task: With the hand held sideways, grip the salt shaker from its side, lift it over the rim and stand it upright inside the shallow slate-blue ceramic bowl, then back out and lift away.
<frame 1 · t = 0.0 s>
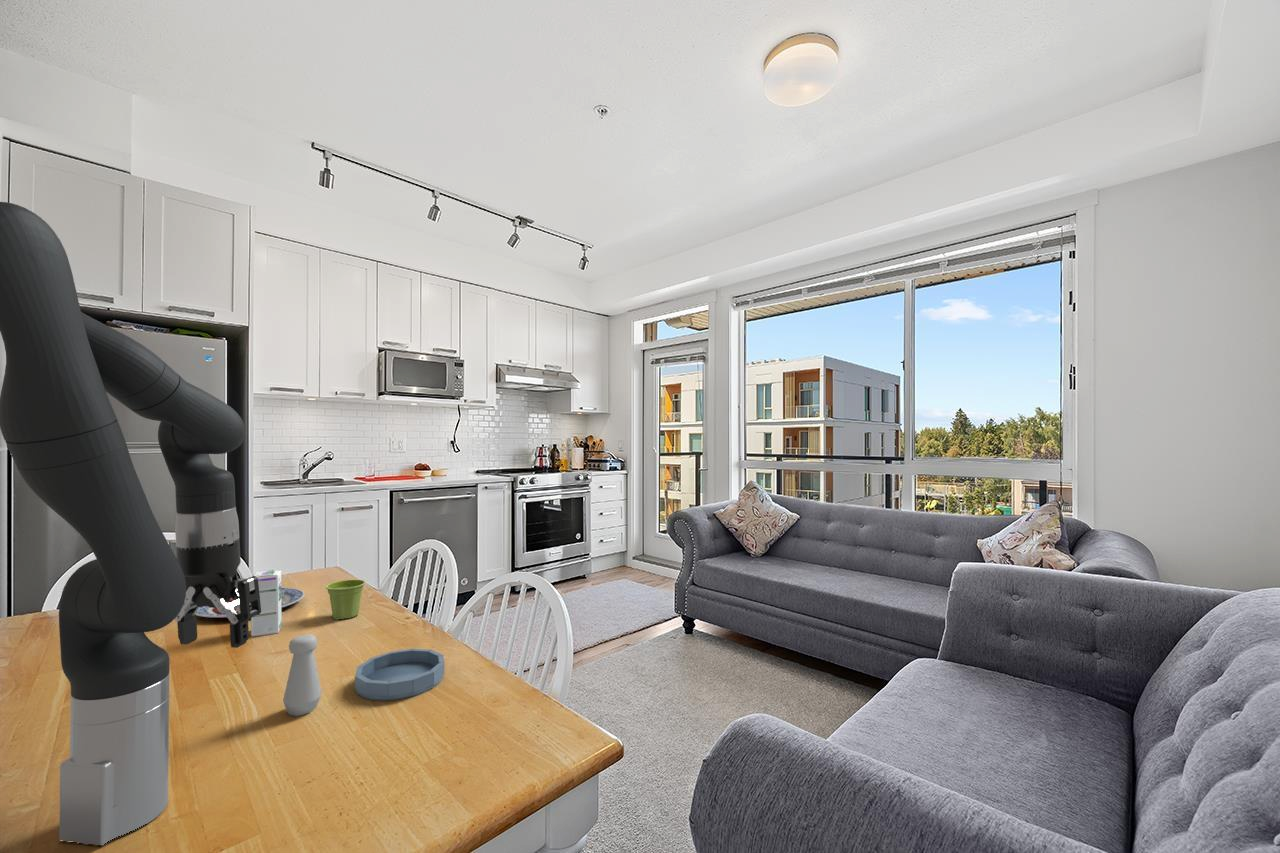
hand: (214, 644, 84), 17 cm above the table, tool pointing down, fingers open, 8 cm apart
salt shaker: (302, 711, 98), on the table
ceramic plate: (250, 609, 154), on the table
plant pot: (345, 617, 148), on the table
syrup box: (266, 632, 136), on the table
bowl: (401, 680, 109), on the table
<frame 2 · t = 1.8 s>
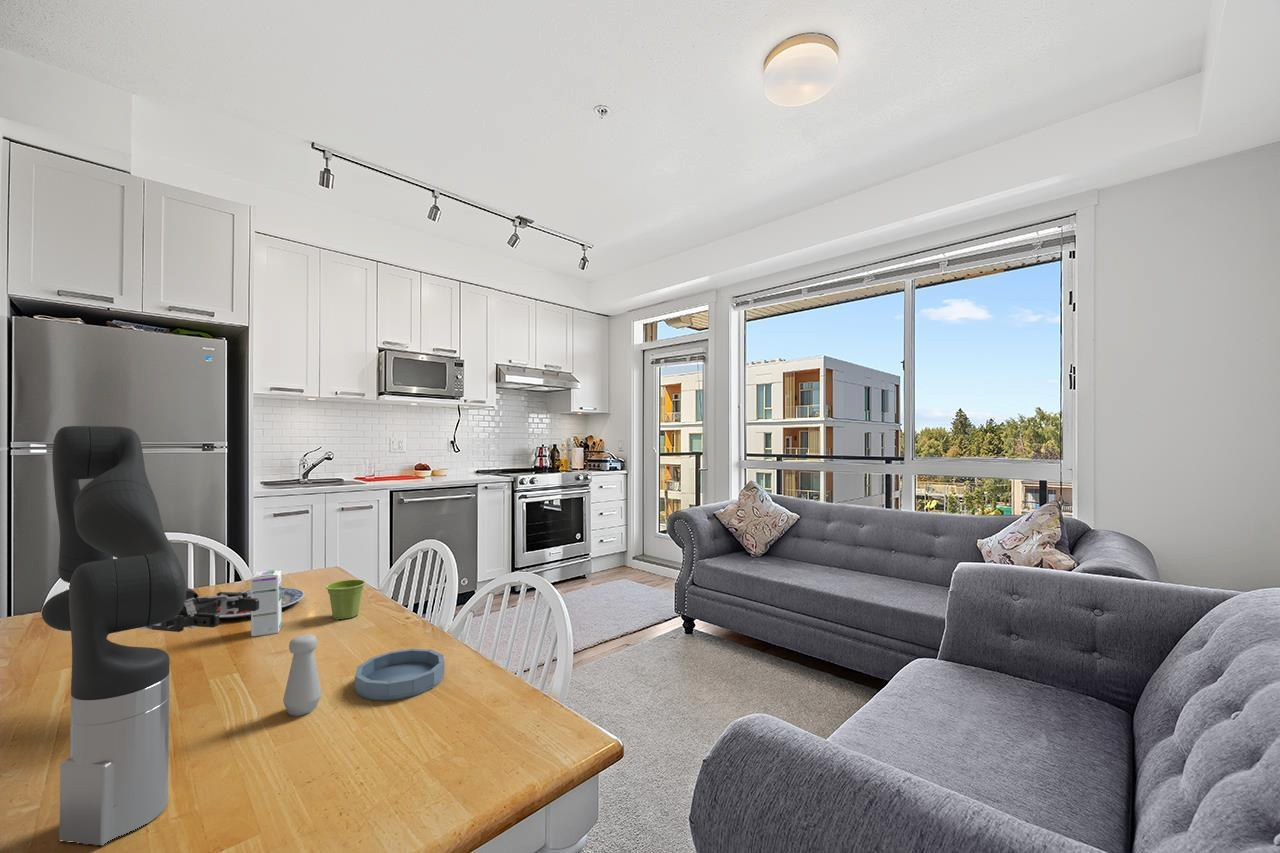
hand: (238, 612, 100), 17 cm above the table, tool horizontal, fingers open, 8 cm apart
nothing on the table moved.
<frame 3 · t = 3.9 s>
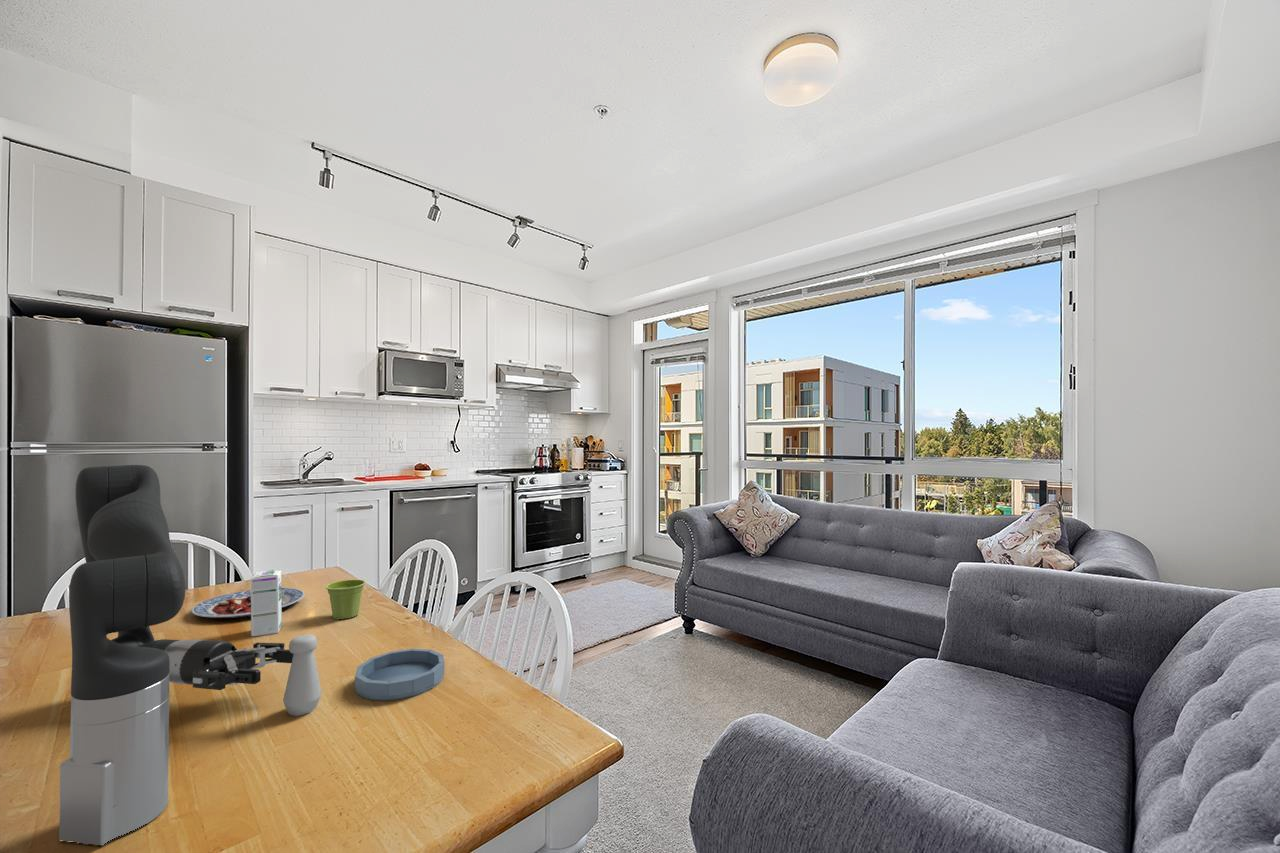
hand: (278, 666, 98), 8 cm above the table, tool horizontal, fingers open, 8 cm apart
nothing on the table moved.
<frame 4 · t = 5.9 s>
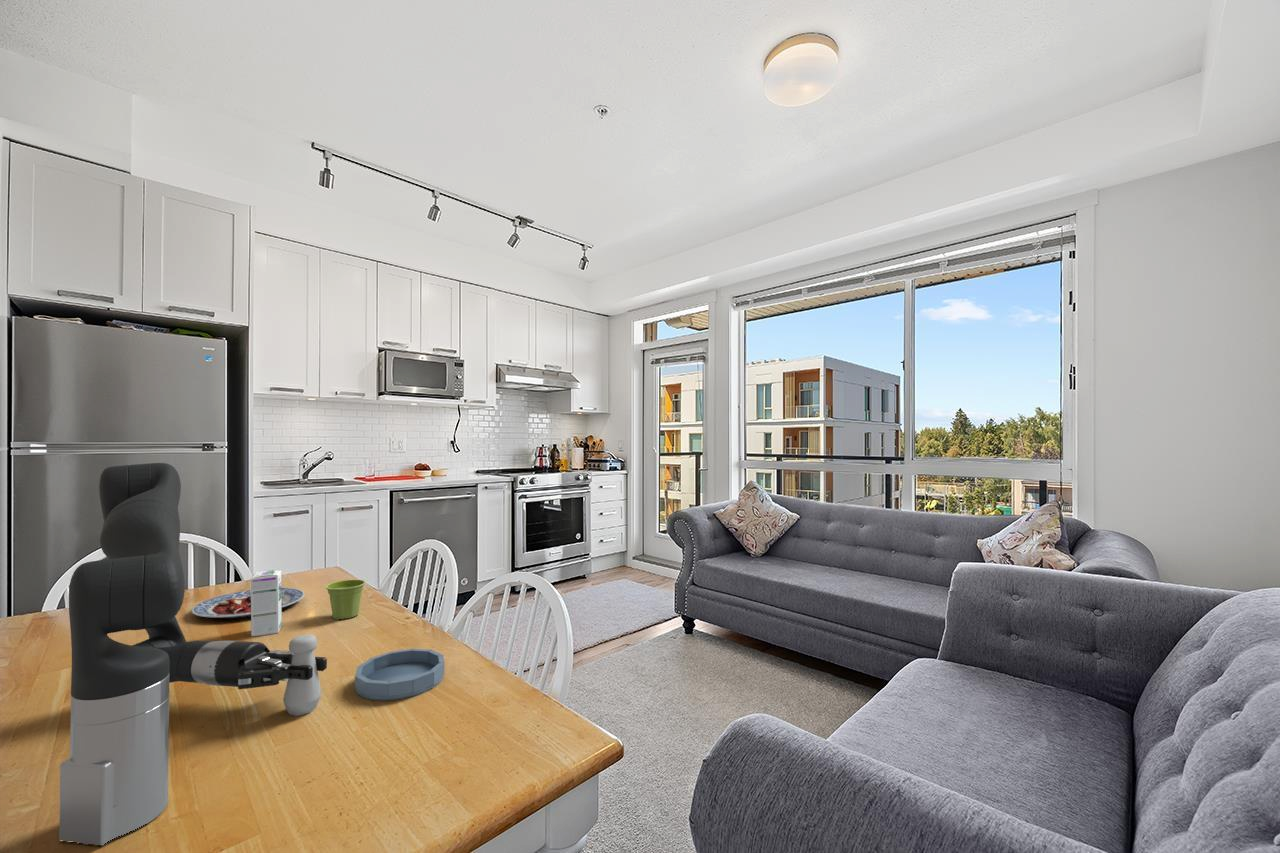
hand: (318, 668, 98), 8 cm above the table, tool horizontal, fingers closed on salt shaker, 3 cm apart
salt shaker: (302, 711, 98), on the table, touching gripper
everything else where it was.
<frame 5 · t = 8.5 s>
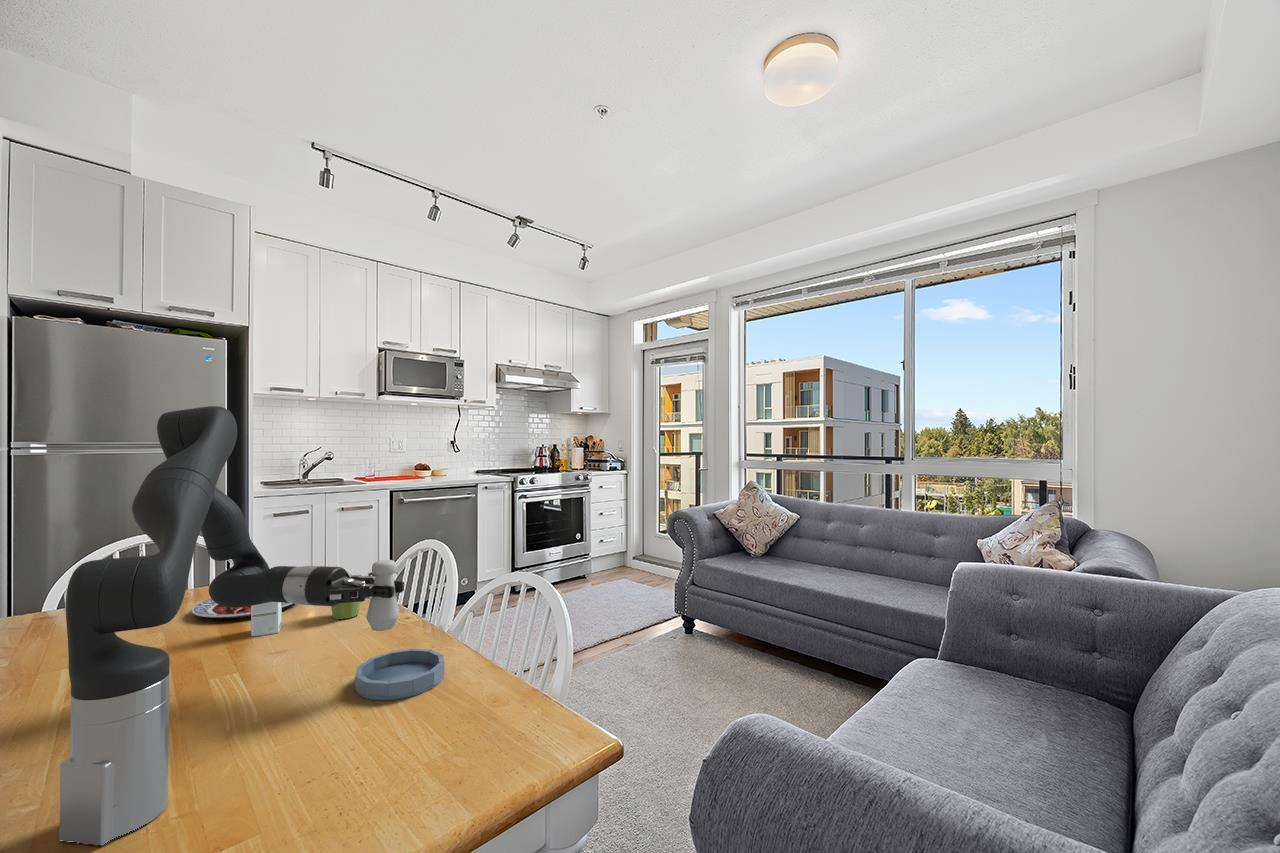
hand: (397, 589, 108), 19 cm above the table, tool horizontal, fingers closed on salt shaker, 3 cm apart
salt shaker: (382, 628, 108), point 11 cm above the table, touching gripper
everything else where it was.
when the fingers open (9 cm above the table, at t = 10.9 s): salt shaker stays where it is, resting on bowl.
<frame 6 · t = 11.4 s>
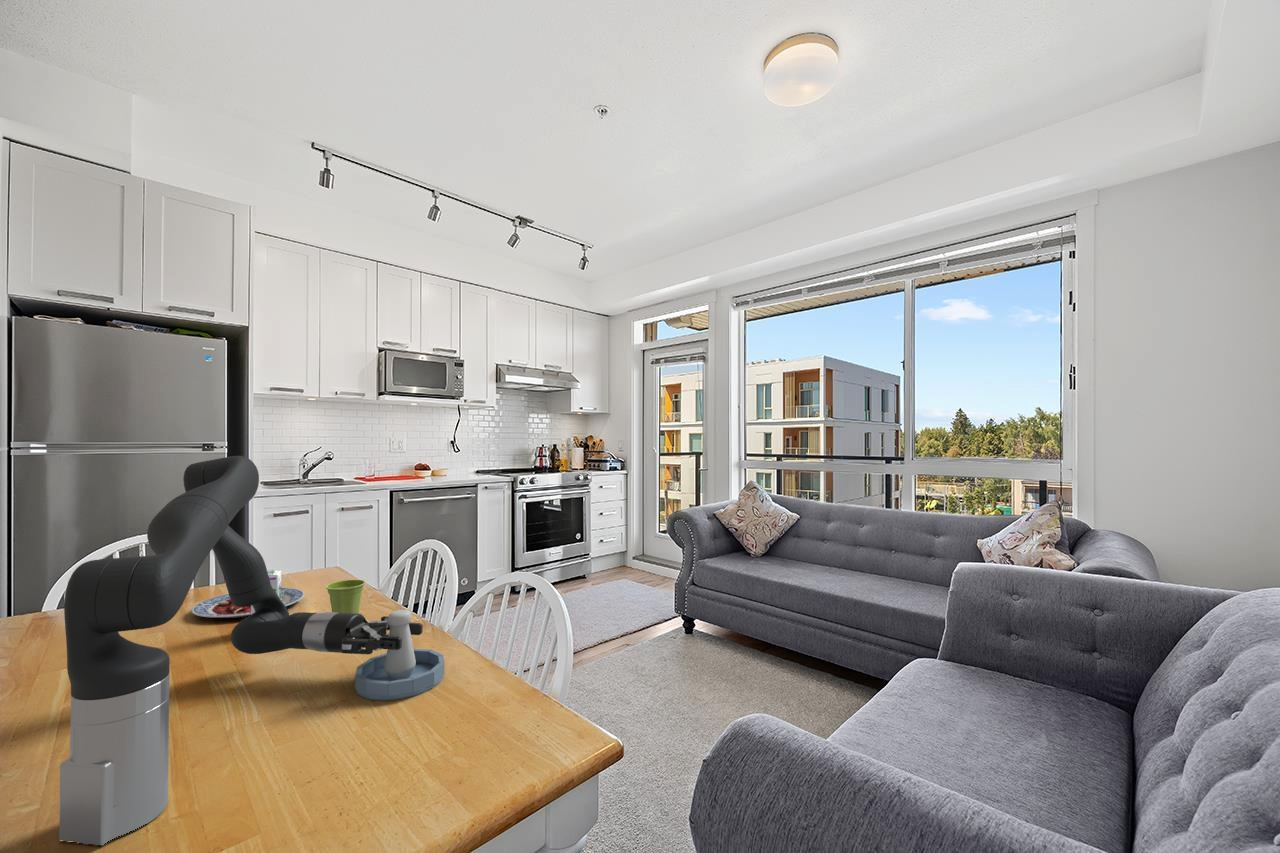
hand: (411, 636, 109), 9 cm above the table, tool horizontal, fingers open, 7 cm apart
salt shaker: (400, 678, 109), point 1 cm above the table, touching bowl
everything else where it was.
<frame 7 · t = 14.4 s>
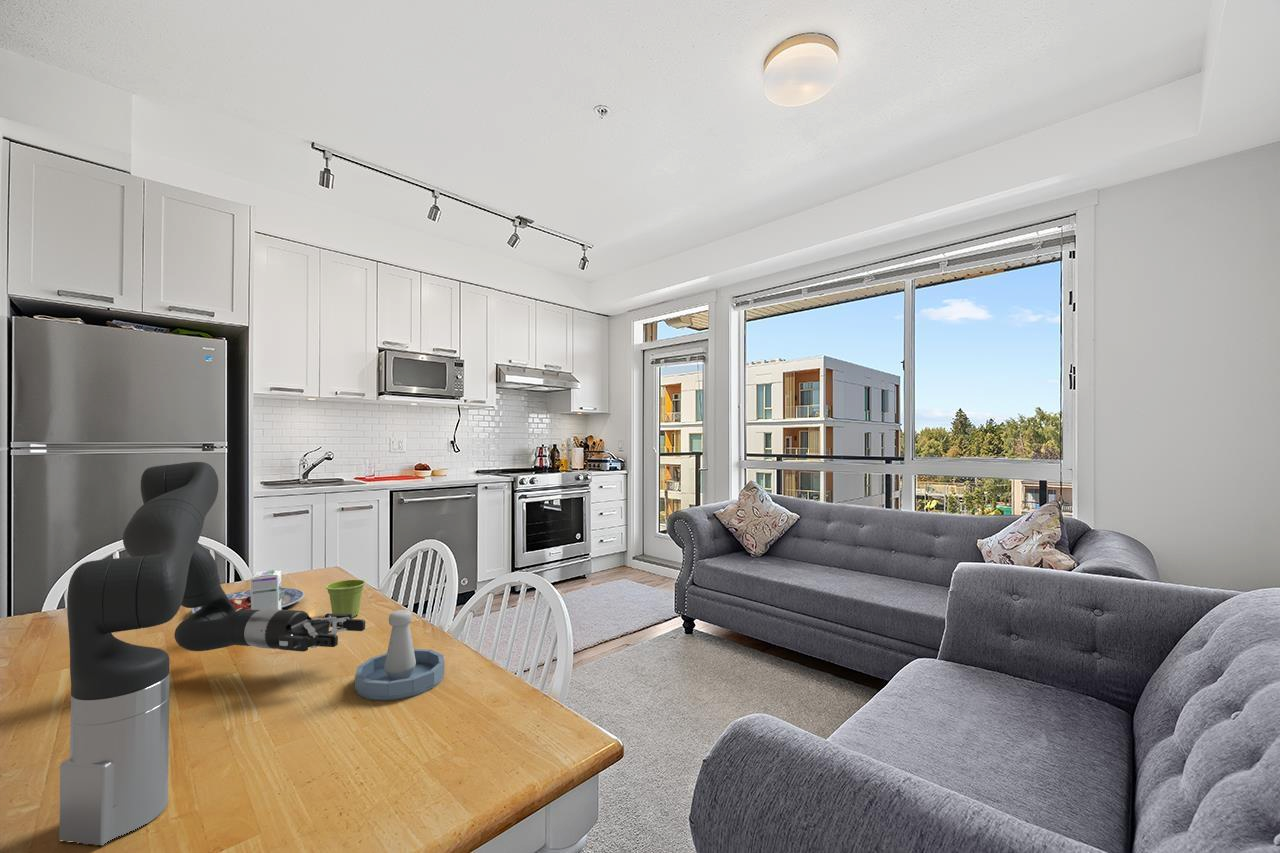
hand: (351, 632, 111), 9 cm above the table, tool horizontal, fingers open, 8 cm apart
nothing on the table moved.
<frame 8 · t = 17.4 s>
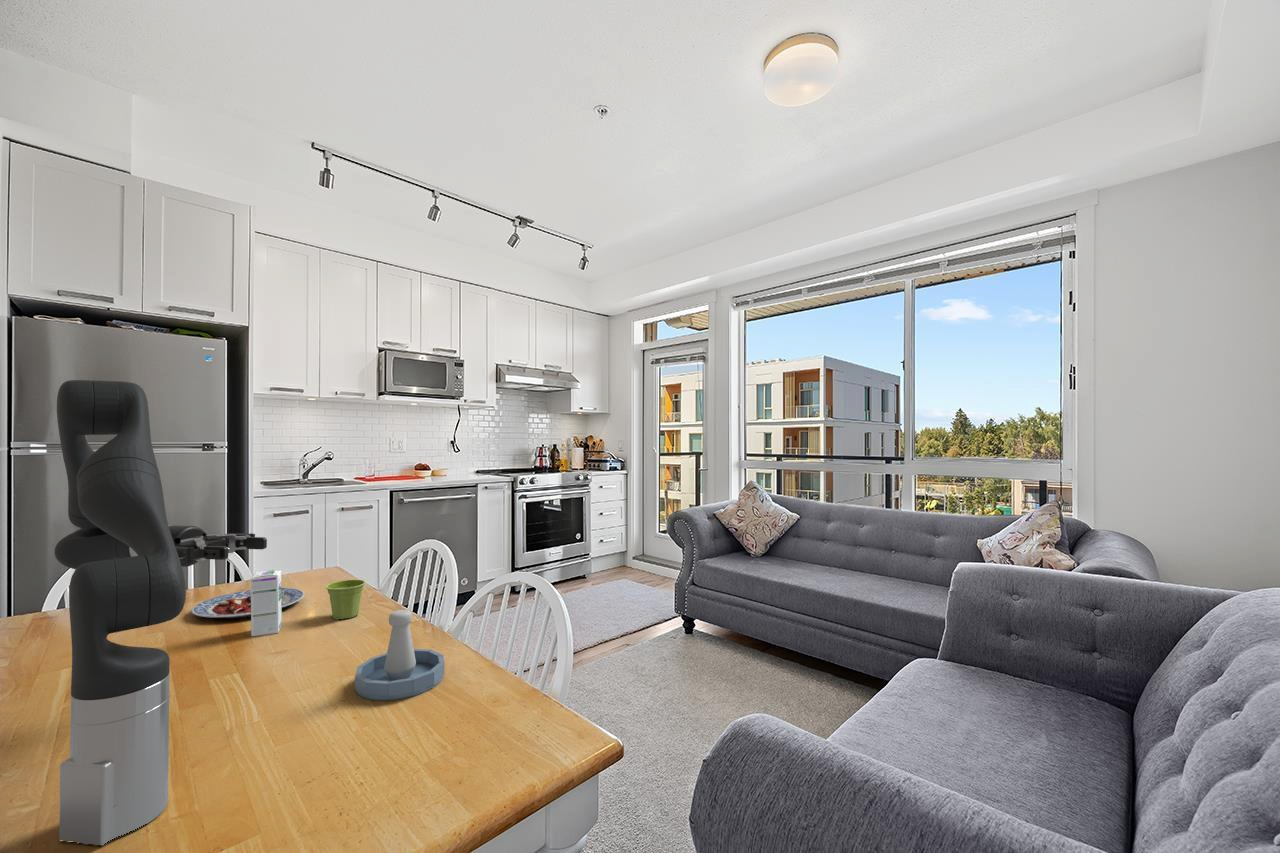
hand: (246, 548, 102), 28 cm above the table, tool horizontal, fingers open, 8 cm apart
nothing on the table moved.
at the end: salt shaker inside the target area on the bowl (0.1 cm from its centre), point 0.6 cm above the bowl's base; salt shaker tilted 0°; the gripper is holding nothing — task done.
